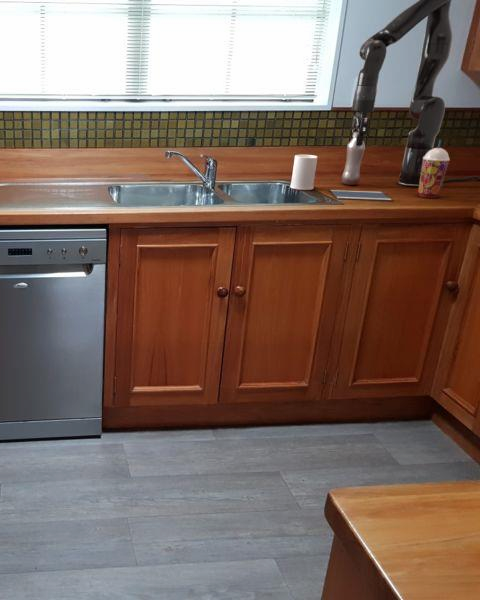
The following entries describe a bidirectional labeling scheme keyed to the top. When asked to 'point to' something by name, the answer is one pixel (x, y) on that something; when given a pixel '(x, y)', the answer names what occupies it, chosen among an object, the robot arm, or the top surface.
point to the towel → (360, 195)
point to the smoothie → (433, 172)
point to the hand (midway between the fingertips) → (356, 144)
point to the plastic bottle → (353, 162)
